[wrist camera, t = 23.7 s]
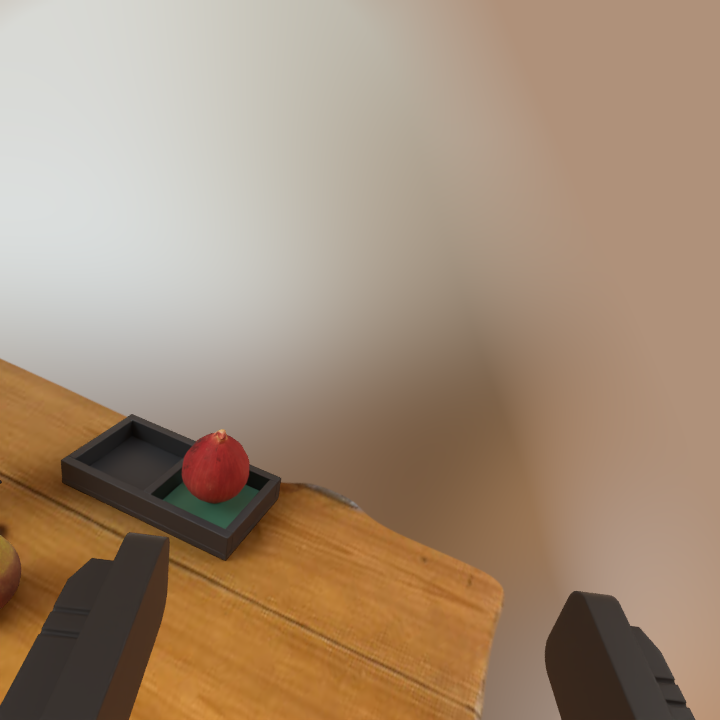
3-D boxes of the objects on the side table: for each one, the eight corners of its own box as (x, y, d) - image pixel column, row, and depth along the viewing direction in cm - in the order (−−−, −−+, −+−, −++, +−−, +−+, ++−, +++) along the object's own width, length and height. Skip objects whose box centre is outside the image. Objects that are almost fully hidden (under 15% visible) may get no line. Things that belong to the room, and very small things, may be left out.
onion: (167, 510, 52) (171, 437, 48) (199, 472, 57) (204, 403, 53) (228, 531, 51) (236, 458, 47) (255, 490, 56) (264, 422, 52)
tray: (131, 434, 61) (131, 413, 60) (278, 498, 57) (281, 477, 56) (62, 482, 54) (60, 460, 52) (225, 561, 49) (227, 538, 48)
